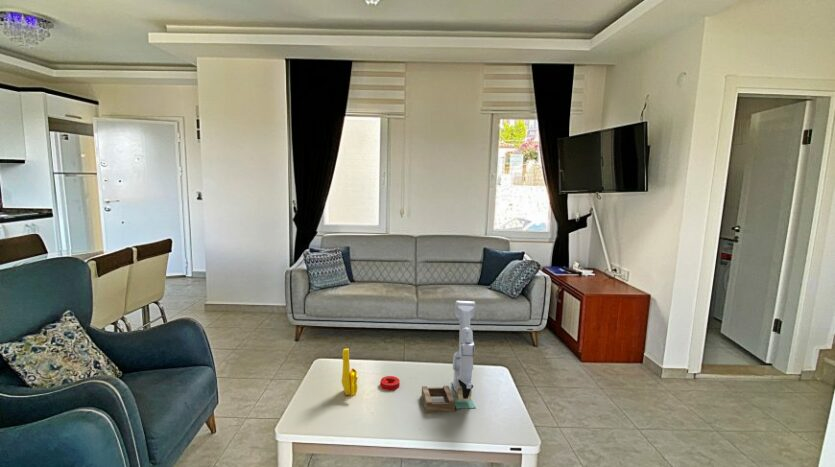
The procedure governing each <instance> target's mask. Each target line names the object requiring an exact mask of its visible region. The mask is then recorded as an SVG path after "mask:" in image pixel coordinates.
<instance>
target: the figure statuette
mask: <svg viewBox="0 0 835 467" xmlns="http://www.w3.org/2000/svg"><path fill="white" fill-rule="evenodd" d="M350 365H351V364H350V349H349V348H343V350H342V374H341V375H342V376H341V384H342V387H343V390H344V396H351V397H352V396H356V395H357V392H358V378H359V376H358V373H357V370H356V369H355V368H351V369H350Z"/></svg>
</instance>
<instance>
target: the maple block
mask: <svg viewBox="0 0 835 467" xmlns="http://www.w3.org/2000/svg"><path fill="white" fill-rule="evenodd" d="M455 395H456V397H455V398H457V399H458V401H470V400H471V399H472V389H471V391H470V393H469V397H468V399H464V398H463V392H462V387H461V386H457V391H456V394H455Z"/></svg>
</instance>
